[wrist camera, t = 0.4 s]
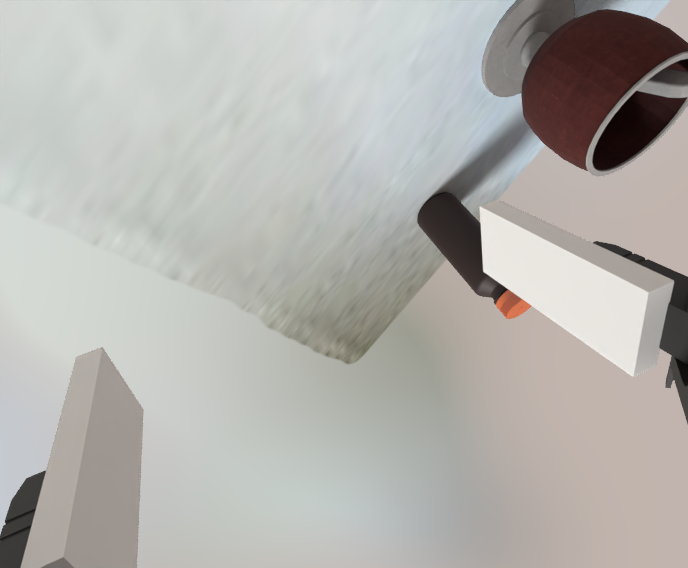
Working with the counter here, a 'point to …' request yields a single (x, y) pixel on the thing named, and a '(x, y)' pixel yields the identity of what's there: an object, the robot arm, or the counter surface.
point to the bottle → (465, 249)
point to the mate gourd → (589, 79)
